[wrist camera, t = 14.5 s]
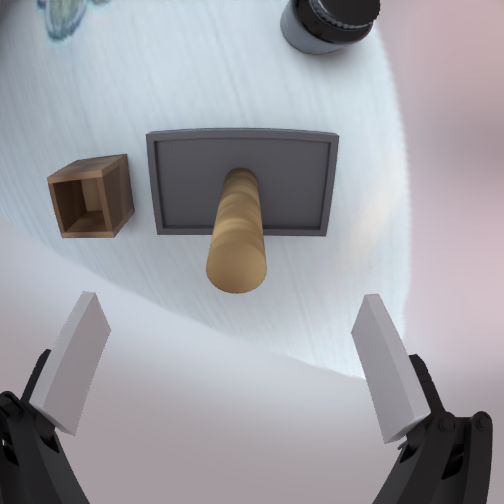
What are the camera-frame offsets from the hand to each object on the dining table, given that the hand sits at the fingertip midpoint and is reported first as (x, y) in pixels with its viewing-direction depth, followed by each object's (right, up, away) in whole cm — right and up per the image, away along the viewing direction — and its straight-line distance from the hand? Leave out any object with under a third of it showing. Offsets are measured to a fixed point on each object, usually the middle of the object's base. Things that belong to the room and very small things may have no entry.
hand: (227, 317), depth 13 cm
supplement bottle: (+7, +26, +9) cm, 29 cm away
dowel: (0, +11, +17) cm, 20 cm away
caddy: (-17, +11, +18) cm, 27 cm away
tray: (0, +11, +18) cm, 21 cm away
